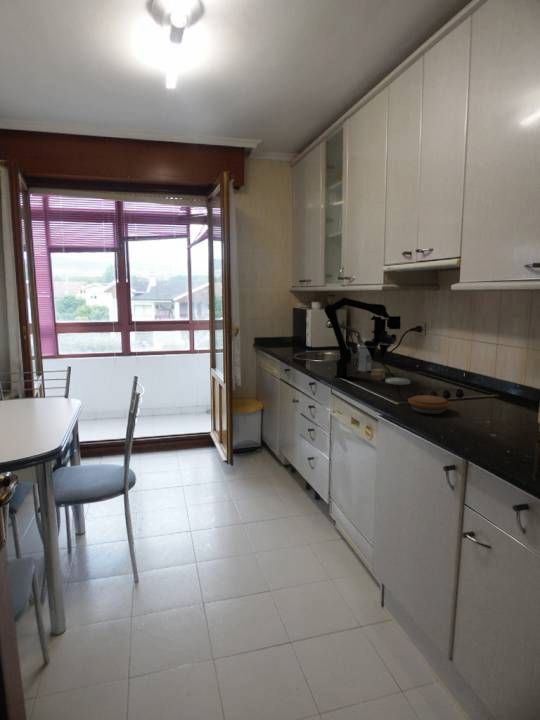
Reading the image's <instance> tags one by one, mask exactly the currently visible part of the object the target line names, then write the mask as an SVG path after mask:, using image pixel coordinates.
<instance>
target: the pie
mask: <svg viewBox="0 0 540 720" xmlns="http://www.w3.org/2000/svg"><path fill="white" fill-rule="evenodd" d="M407 402H408V404H409V405H410V406H411V408H412V410H413V411H415V412H417V413H420V414H427V415H437V414H438V415H440V414H443V413H445V411H446V410H447V408H448V407H450V405H451V402H450V401H449V400H447V399H446V398H444V397H441V396H436V395H425V394H422V395H421V394H419V395H414V396H411V397H409V398H408V399H407Z"/></svg>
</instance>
